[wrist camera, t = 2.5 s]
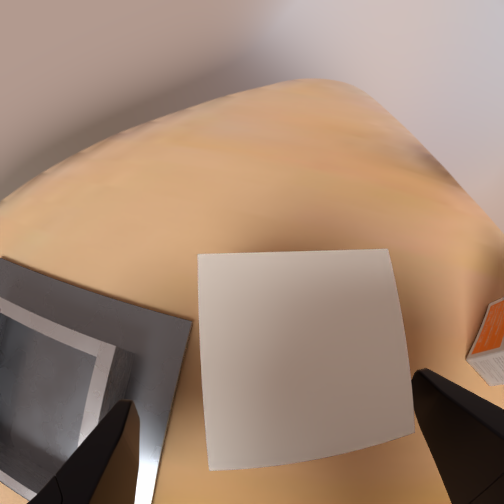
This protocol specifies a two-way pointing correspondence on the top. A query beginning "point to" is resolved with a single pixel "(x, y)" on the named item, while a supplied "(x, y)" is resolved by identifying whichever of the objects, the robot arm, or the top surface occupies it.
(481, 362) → the skincare box
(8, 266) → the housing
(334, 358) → the plug
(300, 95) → the top surface
